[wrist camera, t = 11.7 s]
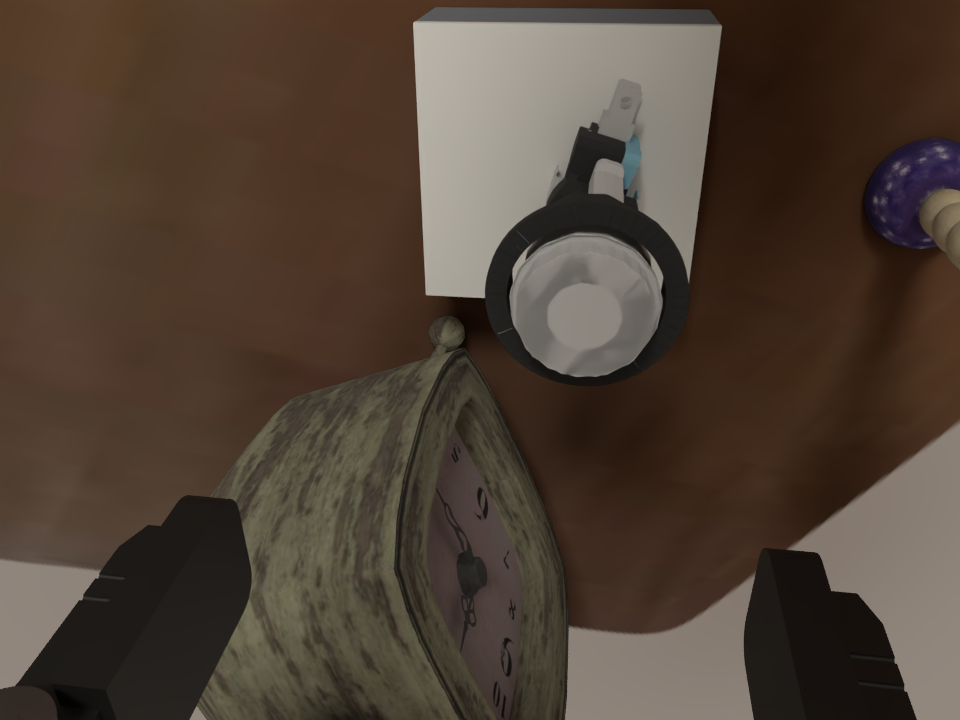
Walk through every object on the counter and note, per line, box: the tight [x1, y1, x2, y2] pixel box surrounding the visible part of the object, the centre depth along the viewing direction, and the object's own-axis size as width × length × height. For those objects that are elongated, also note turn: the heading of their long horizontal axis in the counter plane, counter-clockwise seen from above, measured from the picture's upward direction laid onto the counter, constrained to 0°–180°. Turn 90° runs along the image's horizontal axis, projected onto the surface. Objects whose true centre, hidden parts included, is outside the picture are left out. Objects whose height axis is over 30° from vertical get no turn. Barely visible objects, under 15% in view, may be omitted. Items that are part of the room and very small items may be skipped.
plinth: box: [413, 7, 722, 298], centre depth 31 cm, size 10×10×4 cm
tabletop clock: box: [197, 315, 568, 720], centre depth 30 cm, size 14×9×25 cm, turn 22°
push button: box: [485, 79, 690, 386], centre depth 25 cm, size 7×5×10 cm
